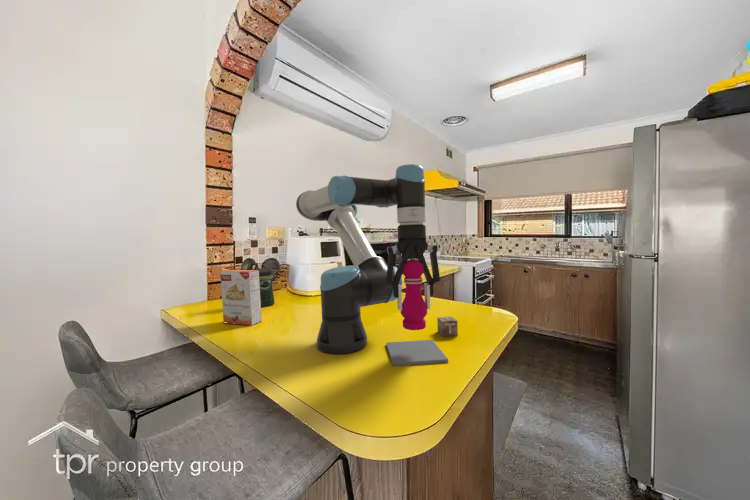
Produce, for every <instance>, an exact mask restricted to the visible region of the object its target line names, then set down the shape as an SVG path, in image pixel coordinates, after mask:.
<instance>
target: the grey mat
mask: <svg viewBox="0 0 750 500" xmlns="http://www.w3.org/2000/svg"><path fill="white" fill-rule="evenodd" d="M385 346H386V349H387V352H388V353H389V354H388V355H389V358H390V360H391V362H392V365H393V367H401V366H403V367H404V366H414V365H430V364H441V363H449V358H448V357H447V356H446V355H445V353H444V352H443V351H442V349H440V347H439V346H438V345H437V344H436V342H435V341H434V340H433V339H422V340H421V339H420V340H419V339H418V340H407V341H405V340H404V341H393V342H391V341H389V342H386V343H385Z"/></svg>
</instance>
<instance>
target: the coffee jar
mask: <svg viewBox="0 0 750 500" xmlns="http://www.w3.org/2000/svg"><path fill="white" fill-rule="evenodd" d="M254 270H259V282H260V300H261V308H264V306H266V307H270V305H271V306H273V305H275V295H274V289H273V278H274V275H273V270H272V268H269V267H268V268H267V267H266V268H265V267H263V268H256V269H254Z"/></svg>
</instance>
